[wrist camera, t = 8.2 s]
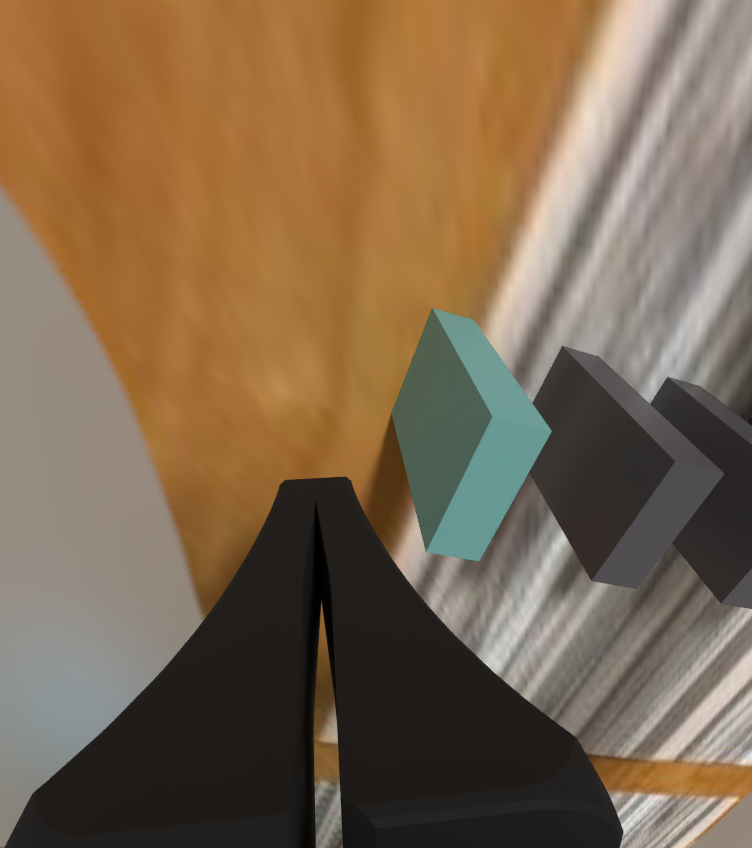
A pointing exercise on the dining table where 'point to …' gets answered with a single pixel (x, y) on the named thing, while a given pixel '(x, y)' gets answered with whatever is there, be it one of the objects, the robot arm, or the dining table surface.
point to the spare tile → (463, 436)
